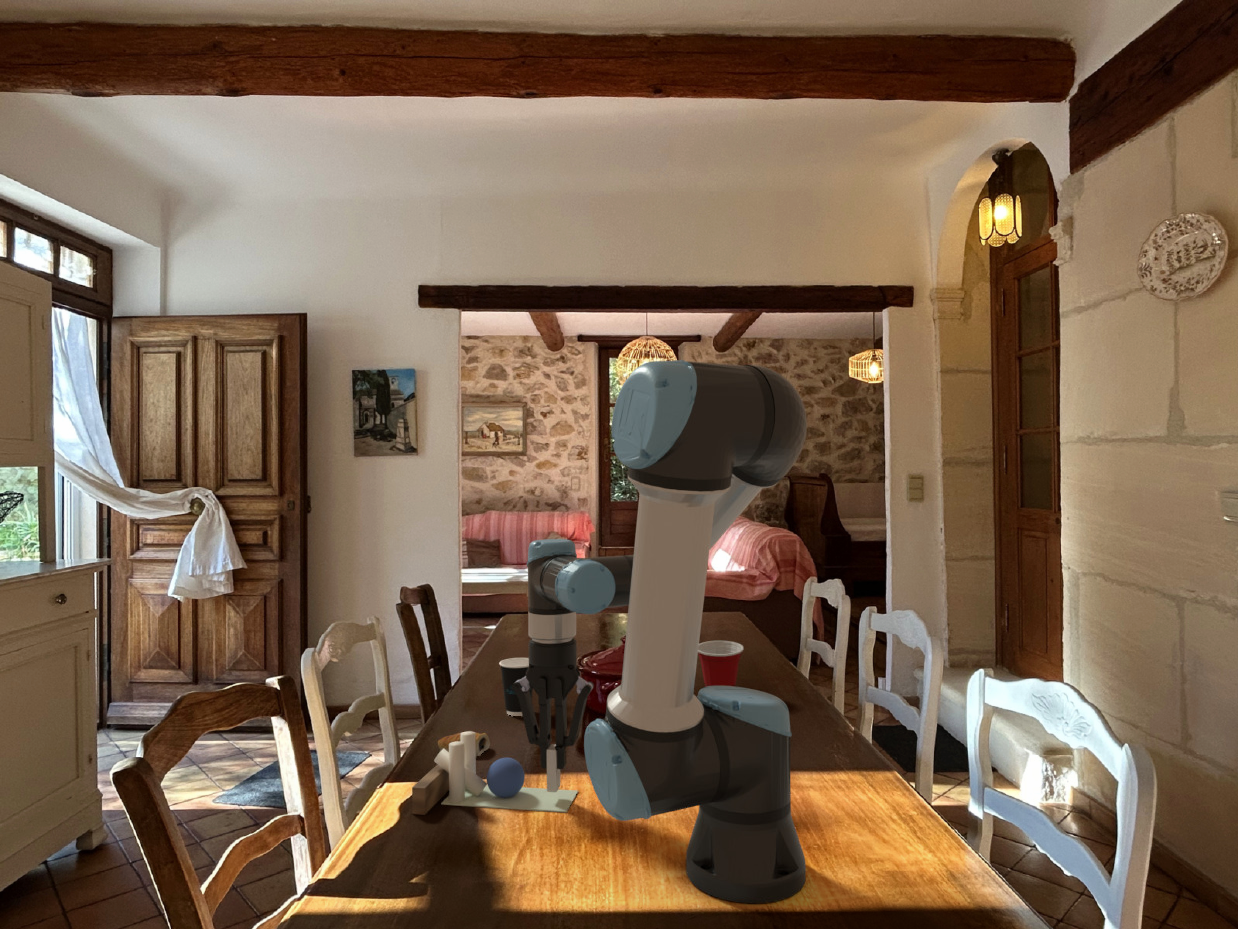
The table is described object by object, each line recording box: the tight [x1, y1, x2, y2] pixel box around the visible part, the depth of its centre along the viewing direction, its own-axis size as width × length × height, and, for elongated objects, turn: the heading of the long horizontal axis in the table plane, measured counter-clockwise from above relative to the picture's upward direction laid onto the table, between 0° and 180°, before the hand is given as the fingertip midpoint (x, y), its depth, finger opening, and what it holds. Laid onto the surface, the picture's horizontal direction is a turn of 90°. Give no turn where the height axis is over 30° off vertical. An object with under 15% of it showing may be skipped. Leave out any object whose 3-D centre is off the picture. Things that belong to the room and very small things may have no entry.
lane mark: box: [441, 785, 579, 813], centre depth 128 cm, size 8×20×1 cm, turn 80°
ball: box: [486, 757, 525, 798], centre depth 129 cm, size 6×6×6 cm
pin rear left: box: [460, 730, 477, 791], centre depth 132 cm, size 2×2×9 cm
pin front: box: [433, 748, 487, 797], centre depth 130 cm, size 2×2×9 cm
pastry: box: [437, 731, 491, 757], centre depth 151 cm, size 9×7×4 cm
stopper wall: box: [411, 763, 449, 816], centre depth 131 cm, size 16×2×4 cm, turn 170°
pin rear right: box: [448, 741, 465, 803], centre depth 127 cm, size 2×2×9 cm
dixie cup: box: [498, 657, 534, 717], centre depth 173 cm, size 8×8×11 cm
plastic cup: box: [698, 640, 744, 687], centre depth 183 cm, size 11×11×12 cm
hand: (553, 788), depth 127 cm, fingers closed
